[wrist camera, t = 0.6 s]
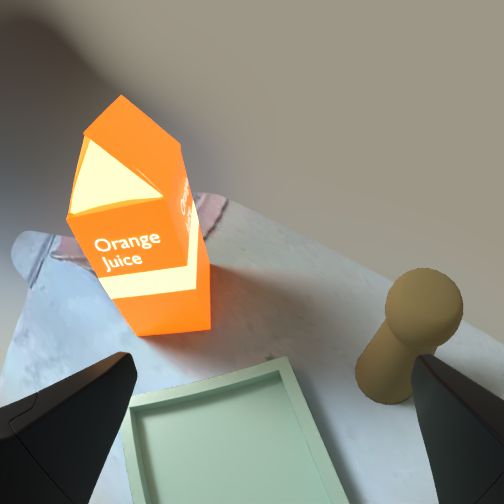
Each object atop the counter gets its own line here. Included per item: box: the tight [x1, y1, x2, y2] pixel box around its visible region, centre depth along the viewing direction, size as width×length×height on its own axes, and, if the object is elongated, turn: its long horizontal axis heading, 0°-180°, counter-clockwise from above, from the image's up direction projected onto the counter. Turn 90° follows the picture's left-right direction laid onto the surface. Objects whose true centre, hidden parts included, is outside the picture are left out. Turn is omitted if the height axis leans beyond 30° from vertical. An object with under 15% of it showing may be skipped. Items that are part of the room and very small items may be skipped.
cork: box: [355, 268, 463, 404], centre depth 20 cm, size 6×6×11 cm
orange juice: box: [66, 95, 211, 336], centre depth 25 cm, size 8×9×20 cm
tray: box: [120, 355, 349, 504], centre depth 19 cm, size 14×14×2 cm
